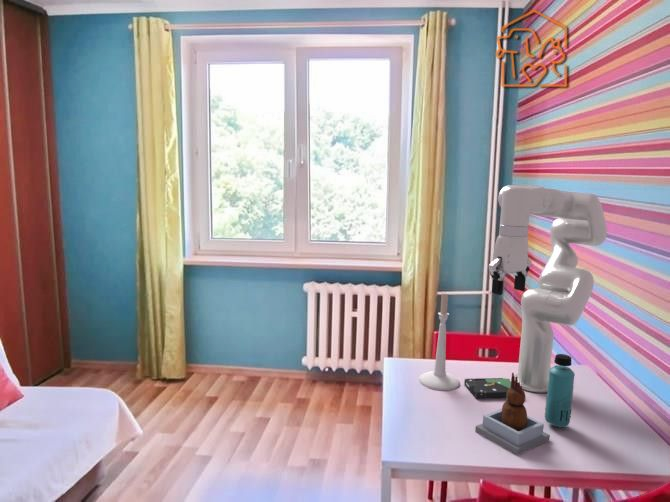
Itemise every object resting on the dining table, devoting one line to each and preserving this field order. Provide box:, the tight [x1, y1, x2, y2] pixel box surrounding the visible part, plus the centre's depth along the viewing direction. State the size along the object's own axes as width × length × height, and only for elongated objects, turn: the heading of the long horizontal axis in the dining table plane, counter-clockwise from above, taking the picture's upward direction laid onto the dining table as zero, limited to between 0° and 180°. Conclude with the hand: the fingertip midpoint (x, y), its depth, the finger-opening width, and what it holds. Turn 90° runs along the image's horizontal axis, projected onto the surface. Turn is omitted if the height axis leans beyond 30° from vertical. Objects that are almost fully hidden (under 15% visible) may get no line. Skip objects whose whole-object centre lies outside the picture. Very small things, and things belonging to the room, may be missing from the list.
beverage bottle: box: [543, 353, 576, 427], centre depth 135 cm, size 6×7×20 cm
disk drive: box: [463, 377, 511, 400], centre depth 157 cm, size 10×3×15 cm
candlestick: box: [418, 292, 460, 391], centre depth 161 cm, size 13×13×30 cm
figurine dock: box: [474, 408, 551, 456], centre depth 130 cm, size 13×13×4 cm
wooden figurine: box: [501, 372, 528, 431], centre depth 129 cm, size 7×6×15 cm
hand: (508, 291), depth 142 cm, fingers open, 9 cm apart
